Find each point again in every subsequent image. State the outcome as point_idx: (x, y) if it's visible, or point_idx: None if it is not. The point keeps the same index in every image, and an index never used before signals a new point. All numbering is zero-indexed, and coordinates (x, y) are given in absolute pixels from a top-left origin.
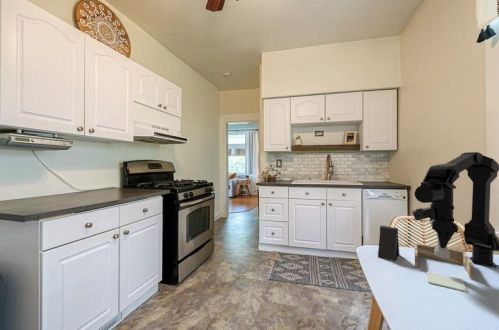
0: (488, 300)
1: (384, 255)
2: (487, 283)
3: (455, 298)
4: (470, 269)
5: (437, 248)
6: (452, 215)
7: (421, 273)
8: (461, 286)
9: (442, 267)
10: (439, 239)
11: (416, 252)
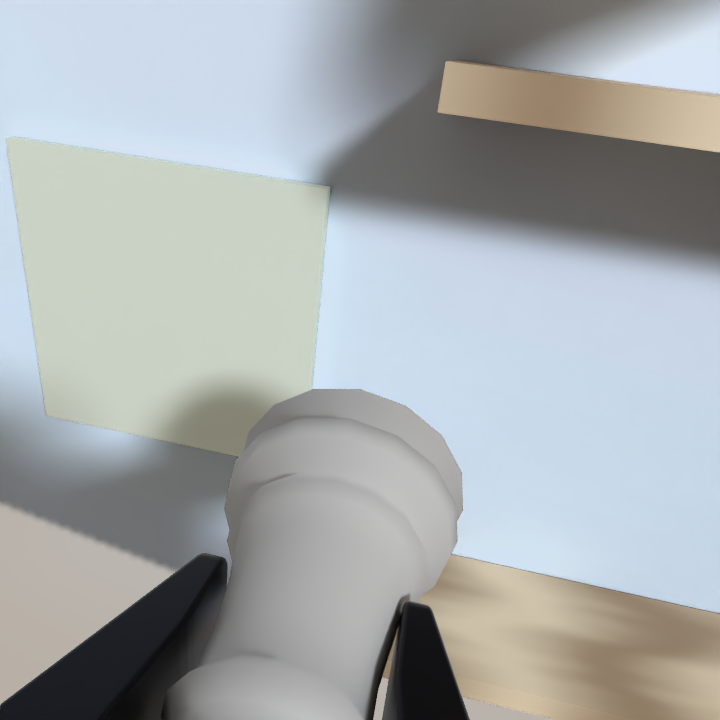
0: (15, 487)
1: None
2: None
3: None
4: None
5: (277, 495)
6: None
7: (261, 114)
8: (108, 407)
9: (613, 409)
10: (28, 697)
11: (648, 122)
